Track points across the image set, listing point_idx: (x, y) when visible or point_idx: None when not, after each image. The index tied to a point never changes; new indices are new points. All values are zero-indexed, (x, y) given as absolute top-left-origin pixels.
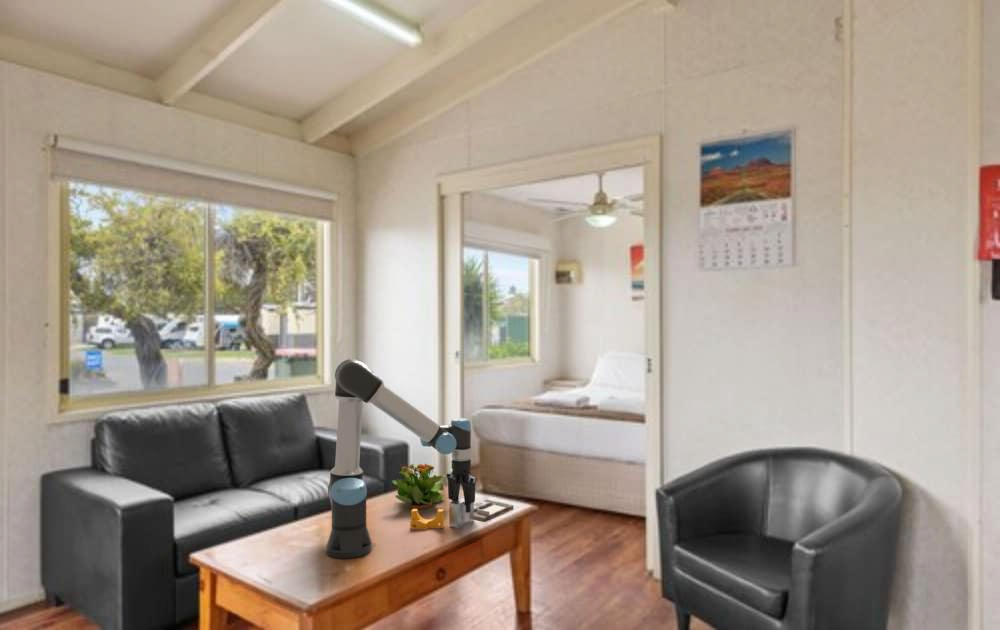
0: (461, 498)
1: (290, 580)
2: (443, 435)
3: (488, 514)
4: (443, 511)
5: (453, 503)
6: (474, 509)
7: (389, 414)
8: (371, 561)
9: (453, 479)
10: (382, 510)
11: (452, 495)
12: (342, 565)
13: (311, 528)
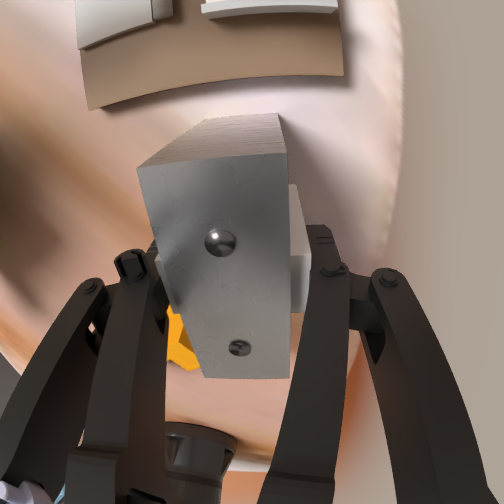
0: (172, 260)
1: (236, 466)
2: None
3: (330, 11)
4: (185, 335)
5: (246, 377)
6: (167, 12)
7: None
8: (269, 443)
9: (22, 460)
10: None
11: (97, 316)
12: (245, 452)
13: None
